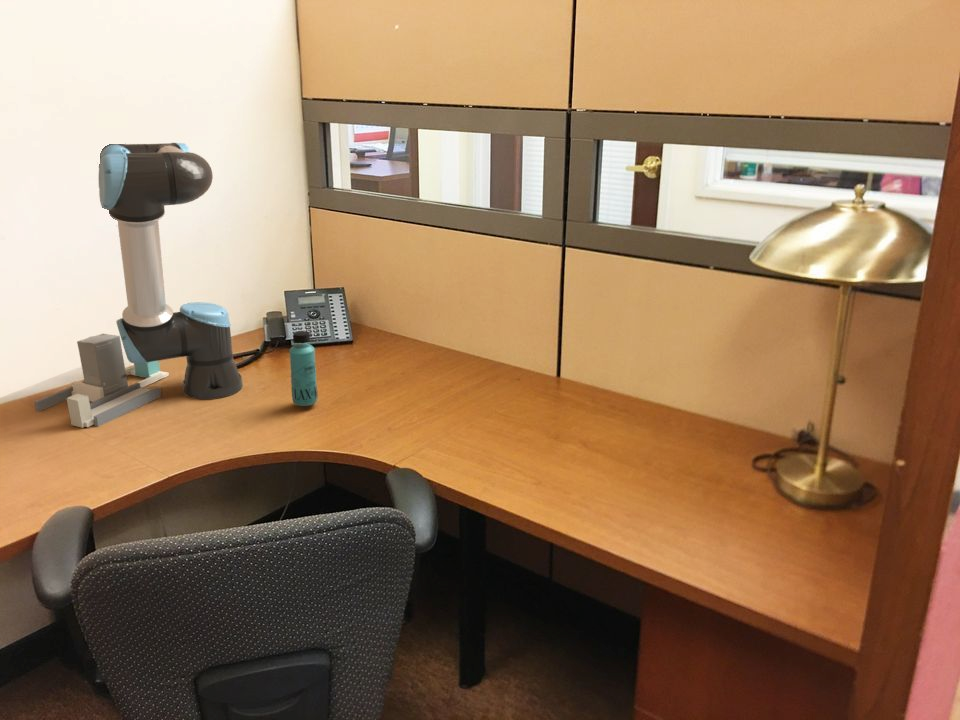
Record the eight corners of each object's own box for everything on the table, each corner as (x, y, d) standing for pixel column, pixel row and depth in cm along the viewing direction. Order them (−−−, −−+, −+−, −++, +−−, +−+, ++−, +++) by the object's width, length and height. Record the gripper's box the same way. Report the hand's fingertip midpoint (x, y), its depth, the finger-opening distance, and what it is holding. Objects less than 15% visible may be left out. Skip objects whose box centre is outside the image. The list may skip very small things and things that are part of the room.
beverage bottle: (287, 408, 193) (281, 334, 186) (302, 399, 199) (297, 327, 191) (309, 413, 190) (304, 338, 183) (323, 403, 196) (319, 330, 189)
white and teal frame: (168, 375, 211) (163, 338, 207) (104, 404, 192) (97, 364, 188) (138, 369, 215) (132, 332, 211) (72, 396, 196) (64, 357, 192)
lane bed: (161, 396, 198) (160, 387, 198) (98, 426, 181) (96, 417, 180) (101, 383, 206) (100, 374, 205) (36, 410, 189) (34, 401, 188)
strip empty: (156, 394, 199) (152, 369, 196) (85, 428, 179) (80, 401, 177) (141, 391, 201) (137, 366, 198) (69, 424, 181) (64, 397, 179)
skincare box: (105, 403, 194) (95, 344, 188) (84, 398, 196) (74, 340, 191) (131, 391, 201) (122, 335, 196) (111, 386, 204) (102, 331, 198)
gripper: (161, 193, 210) (171, 267, 217) (95, 186, 218) (106, 258, 226) (140, 196, 203) (151, 273, 211) (73, 189, 212) (85, 263, 220)
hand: (128, 265), depth 218 cm, fingers open, 13 cm apart
